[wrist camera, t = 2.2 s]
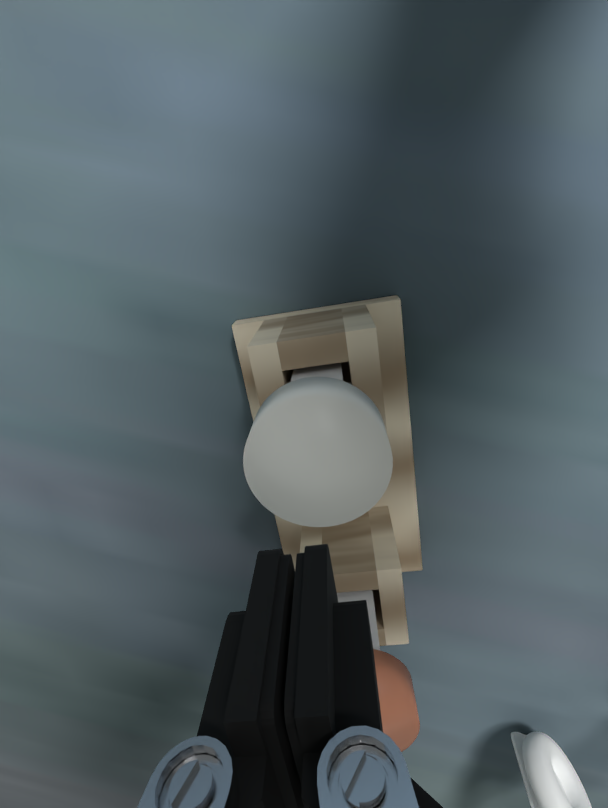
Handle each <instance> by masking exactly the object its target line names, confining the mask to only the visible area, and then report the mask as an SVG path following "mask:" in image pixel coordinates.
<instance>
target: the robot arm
mask: <svg viewBox="0 0 608 808" xmlns="http://www.w3.org/2000/svg"><path fill="white" fill-rule="evenodd" d="M137 808H443V807H442V806H441V805H440V804H439V803H437V802H436V801H435V800H434V799H433V798H432V797H431V796H430V795H429V794H428V793H427V792H426V791H424V790H423V789H422V788H421V787H420V786H419V785H418V784H417V783H416V782H415V781H414V780H413V779H411V778H410V775H409V772H408V768H407V765H406V762H405V760H404V757H403V755H402V753H401V751H400V748H399V747H398V746H397V745H396V744H395V742H394V741H393V740H392V739H391V738H390V737H389V736H388V735H386V734H385V733H383V727H382V718H381V710H380V702H379V693H378V685H377V676H376V668H375V660H374V651H373V644H372V636H371V629H370V622H369V615H368V608H367V602H366V600H359V601H348V602H338V597H337V592H336V586H335V580H334V575H333V569H332V563H331V558H330V552H329V547H328V544H321V545H312V546H305V550H304V553H297V556H296V567H295V569H294V564H293V560H292V556H291V554H286V555H284V553H283V550H282V549H274V550H265V551H259V552H258V555H257V560H256V565H255V570H254V574H253V579H252V584H251V589H250V594H249V599H248V604H247V608H246V611H240V612H230V614H229V615H228V617H227V620H226V623H225V627H224V631H223V635H222V639H221V643H220V647H219V651H218V655H217V659H216V663H215V667H214V671H213V675H212V679H211V682H210V686H209V690H208V694H207V698H206V702H205V706H204V710H203V714H202V718H201V722H200V726H199V730H198V734H197V736H195V737H192V738H189V739H187V740H184V741H182V742H181V743H179V744H178V745H176V746H175V747H174V748H172V749H171V750H170V751H169V752H168V753H167V754H166V755H165V756H164V757H163V758H162V760H161V761H160V762H159V763H158V765H157V767H156V769H155V770H154V772H153V774H152V776H151V777H150V780H149V782H148V784H147V786H146V789H145V791H144V793H143V796H142V798H141V800H140V802H139V805H138V807H137Z"/></svg>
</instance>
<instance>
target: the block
mask: <svg viewBox="0 0 608 808" xmlns="http://www.w3.org/2000/svg"><path fill="white" fill-rule="evenodd" d="M232 330H233V334H234V339H235V343H236V347H237V352H238V356H239V361H240V365H241V369H242V374H243V378H244V383H245V387H246V391H247V396H248V400H249V404H250V409H251V413H252V418H253V422H254V419H255V417H256V415H257V412H258V410H259V408H260V407H261V405H262V404H263V402H264V401H265V400H266V399H267V398H268V397H269V396H270V395H271V394H272V393H273V392H274V391H275V390H277V389H278V388H280V387H281V386H283V385H285V384H287V383H289V382H291V378H292V374H293V370H294V369H299V368H306V367H313V366H320V365H327V364H334V363H341V366H342V374H343V381H345V382H347V383H349V384H351V385H353V386H355V387H357V388H358V389H360V390H361V391H362V392H364V393H365V394H366V395H367V396H368V397H369V398H370V399H371V400H372V401H373V402H374V404H375V405H376V407H377V408H378V410H379V412H380V414H381V416H382V419H383V422H384V425H385V429H386V432H387V436H388V439H389V443H390V446H391V451H392V456H393V469H392V475H391V479H390V482H389V485H388V487H387V489H386V491H385V493H384V494H383V496H382V497H381V499H380V500H379V501H378V502H377V503H376V505H374V506H373V507H372V508H371V509H370V510H369V511H368V512H366V513H365V514H363V515H362V516H360V517H358V518H356V519H354V520H352V521H349V522H347V523H344V524H340V525H336V526H330V527H308V526H302V525H298V524H295V523H291V522H289V521H286V520H284V519H282V518H280V517H278V516H276V515H275V519H276V523H277V527H278V532H279V536H280V541H281V545H282V549H283V553H284V555H286V554H291V556H292V560H293V564H294V569H295V567H296V556H297V553H304V550H305V546H312V545H321V544H328V547H329V552H330V558H331V563H332V569H333V575H334V580H335V586H336V592H337V593H341V592H353V591H364V590H373V597H374V604H375V612H376V621H377V629H378V637H379V645H380V646H385V645H398V644H409V638H408V628H407V619H406V609H405V599H404V590H403V580H402V572H407V571H418V570H423V569H422V557H421V544H420V532H419V520H418V508H417V495H416V483H415V471H414V459H413V446H412V434H411V422H410V410H409V397H408V385H407V373H406V361H405V348H404V336H403V324H402V312H401V299H400V298H399V297H398V296H397V295H394V296H388V297H381V298H375V299H369V300H362V301H356V302H350V303H343V304H337V305H331V306H324V307H318V308H312V309H305V310H299V311H292V312H286V313H280V314H273V315H267V316H261V317H254V318H248V319H242V320H236V321H235V322H234V323H233V324H232Z"/></svg>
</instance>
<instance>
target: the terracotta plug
mask: <svg viewBox="0 0 608 808" xmlns="http://www.w3.org/2000/svg"><path fill="white" fill-rule="evenodd" d="M337 597H338V602H348V601H359V600H366V602H367V608H368V615H369V622H370V629H371V636H372V644H373V651H374V660H375V668H376V676H377V685H378V693H379V702H380V710H381V718H382V727H383V733H385V734H386V735H388V736H389V737H390V738H391V739H392V740H393V741H394V742H395V744H396V745H397V746H398V747H399V748H400V751H401V752H402V751H403V750H405V749H406V748H408V747H409V746H410V745H411V744H412V743H413V742H414V740H415V739H416V737H417V735H418V733H419V728H420V722H419V717H418V711H417V706H416V700H415V695H414V690H413V684H412V679H411V675H410V673H409V671H408V669H407V668H406V666H405V665H404V664H403V663H402V662H401V661H400V660H398V659H397V658H395V657H394V656H392V655H390V654H388V653H386V652H383V651H380V645H379V637H378V629H377V621H376V612H375V604H374V597H373V590H364V591H353V592H341V593H337Z"/></svg>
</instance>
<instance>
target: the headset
mask: <svg viewBox="0 0 608 808" xmlns="http://www.w3.org/2000/svg"><path fill="white" fill-rule="evenodd" d="M511 739H512V743H513V747H514V750H515V754H516V757H517V761H518V764H519V767H520V771H521V774H522V778H523V781H524V784H525V788H526V791H527V794H528V798H529V801H530V805H531V808H592V807H591V804H590V801H589V799H588V796H587V794H586V791H585V789H584V787H583V785H582V783H581V781H580V779H579V777H578V775H577V773H576V771H575V769H574V768H573V766H572V764H571V763H570V761H569V759H568V758H567V756H566V755H565V754H564V752H563V751H562V749H561V748H560V747H559V746H558V744H557V743H556V742H555V741H554V740H553V739H552V738H551V737H549V736H548V735H546V734H544V733H542V732H531V733H529V734H528V735H525V734H522V733H520V732H512V733H511Z"/></svg>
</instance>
